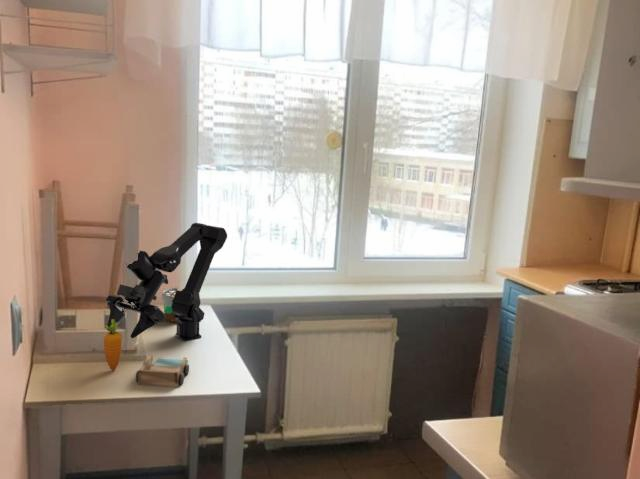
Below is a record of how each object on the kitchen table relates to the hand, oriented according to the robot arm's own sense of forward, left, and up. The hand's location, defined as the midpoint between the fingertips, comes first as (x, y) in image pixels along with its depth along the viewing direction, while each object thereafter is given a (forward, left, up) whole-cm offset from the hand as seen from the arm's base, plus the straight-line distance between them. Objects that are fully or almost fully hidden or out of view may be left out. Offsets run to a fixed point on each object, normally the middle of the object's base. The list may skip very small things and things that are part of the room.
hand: (119, 334), depth 169 cm
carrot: (+2, +1, -10) cm, 11 cm away
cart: (-10, +10, -10) cm, 17 cm away
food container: (-30, -30, -10) cm, 44 cm away
